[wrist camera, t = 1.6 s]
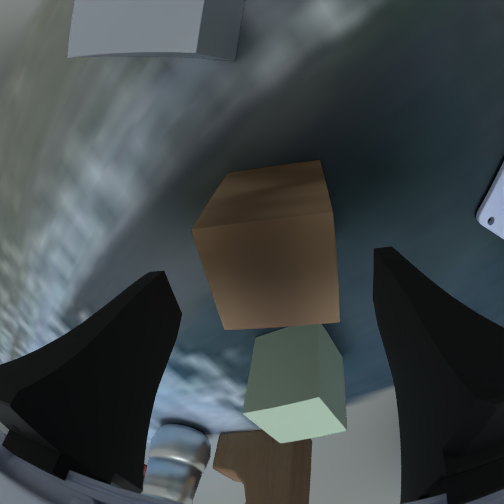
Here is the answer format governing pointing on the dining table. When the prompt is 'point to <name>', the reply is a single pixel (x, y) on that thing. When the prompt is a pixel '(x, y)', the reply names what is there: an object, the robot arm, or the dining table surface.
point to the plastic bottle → (176, 463)
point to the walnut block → (271, 248)
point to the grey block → (156, 28)
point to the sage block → (296, 384)
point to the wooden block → (266, 466)
